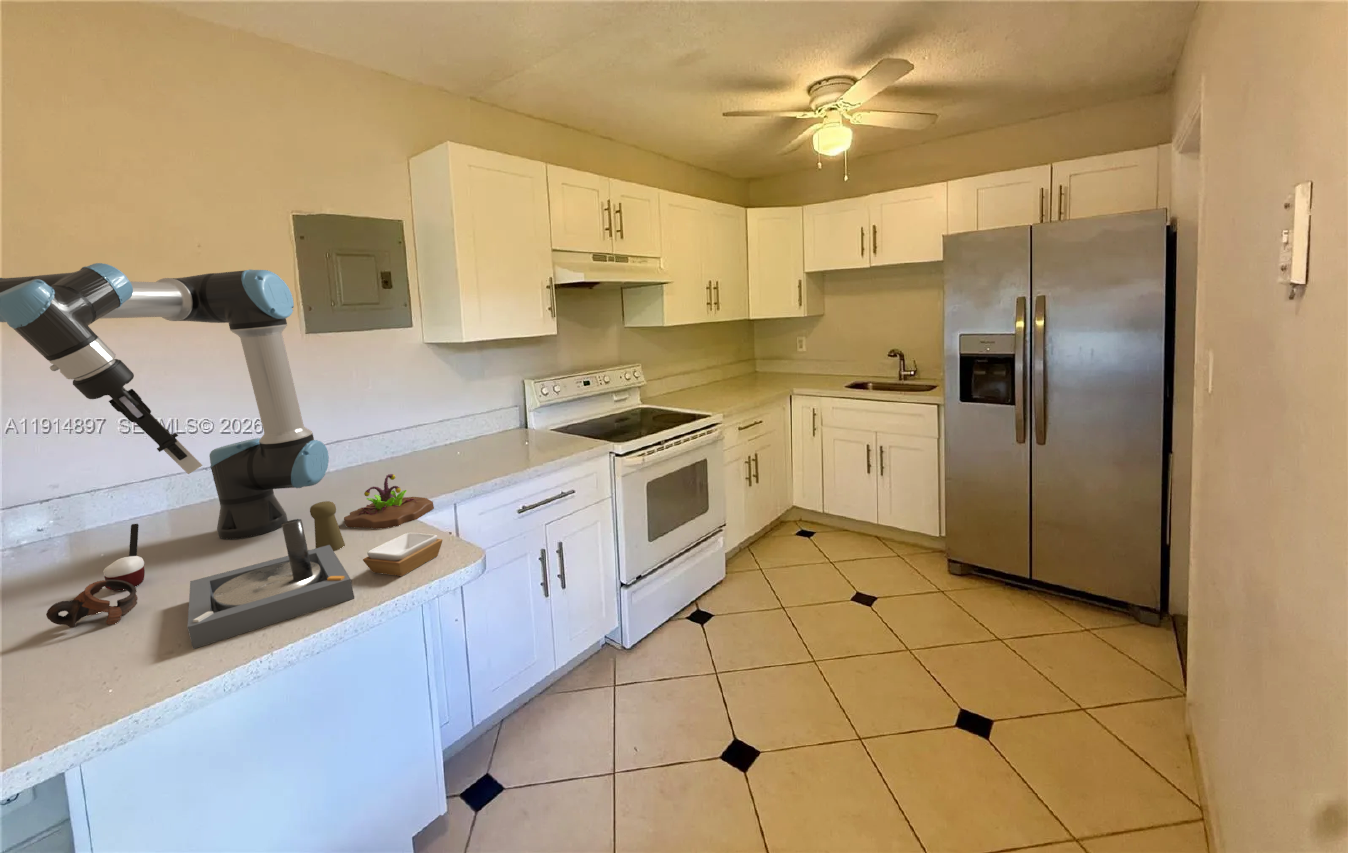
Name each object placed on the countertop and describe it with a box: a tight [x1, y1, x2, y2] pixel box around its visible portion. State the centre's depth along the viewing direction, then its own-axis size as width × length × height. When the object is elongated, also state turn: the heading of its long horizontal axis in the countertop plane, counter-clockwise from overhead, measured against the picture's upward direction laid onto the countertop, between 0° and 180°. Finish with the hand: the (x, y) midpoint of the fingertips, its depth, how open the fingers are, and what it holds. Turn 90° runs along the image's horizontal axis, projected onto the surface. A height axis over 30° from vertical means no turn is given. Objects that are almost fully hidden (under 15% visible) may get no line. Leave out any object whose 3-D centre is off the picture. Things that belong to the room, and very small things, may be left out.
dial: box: [213, 518, 322, 611], centre depth 114 cm, size 17×17×13 cm
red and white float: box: [102, 523, 146, 592], centre depth 126 cm, size 10×6×12 cm, turn 156°
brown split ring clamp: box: [45, 579, 139, 629], centre depth 111 cm, size 12×10×8 cm
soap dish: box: [362, 532, 443, 577], centre depth 127 cm, size 12×10×5 cm
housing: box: [187, 545, 355, 650], centre depth 115 cm, size 24×24×4 cm
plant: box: [343, 473, 435, 530], centre depth 161 cm, size 20×20×11 cm
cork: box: [309, 500, 346, 552], centre depth 139 cm, size 6×6×11 cm
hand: (194, 468), depth 118 cm, fingers closed
